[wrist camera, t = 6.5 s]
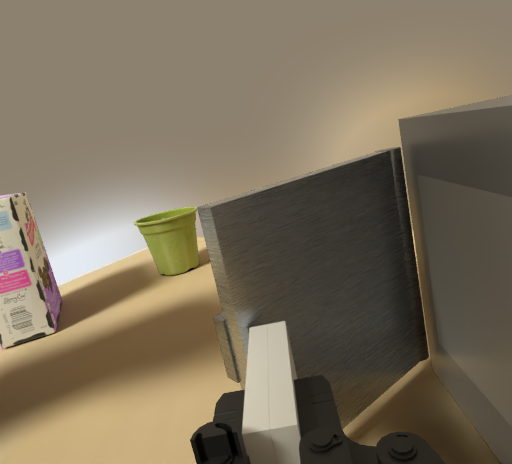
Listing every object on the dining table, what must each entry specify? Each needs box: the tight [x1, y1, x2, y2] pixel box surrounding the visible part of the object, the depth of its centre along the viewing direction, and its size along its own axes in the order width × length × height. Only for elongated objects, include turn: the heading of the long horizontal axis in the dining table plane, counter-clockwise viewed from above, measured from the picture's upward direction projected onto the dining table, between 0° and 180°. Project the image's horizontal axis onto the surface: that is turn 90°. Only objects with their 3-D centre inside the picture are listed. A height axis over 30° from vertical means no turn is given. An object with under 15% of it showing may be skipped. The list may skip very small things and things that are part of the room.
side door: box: [197, 147, 429, 429], centre depth 22 cm, size 13×2×13 cm, turn 129°
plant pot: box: [134, 207, 199, 275], centre depth 64 cm, size 9×9×9 cm
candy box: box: [0, 192, 62, 349], centre depth 53 cm, size 14×6×16 cm, turn 22°
